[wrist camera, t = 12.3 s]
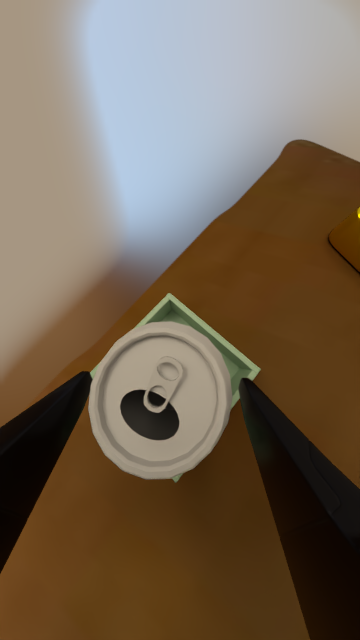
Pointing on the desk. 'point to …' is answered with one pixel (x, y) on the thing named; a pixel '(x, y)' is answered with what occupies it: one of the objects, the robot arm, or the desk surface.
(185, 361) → the can
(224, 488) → the desk surface
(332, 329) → the desk surface
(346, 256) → the element tile
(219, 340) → the tray
